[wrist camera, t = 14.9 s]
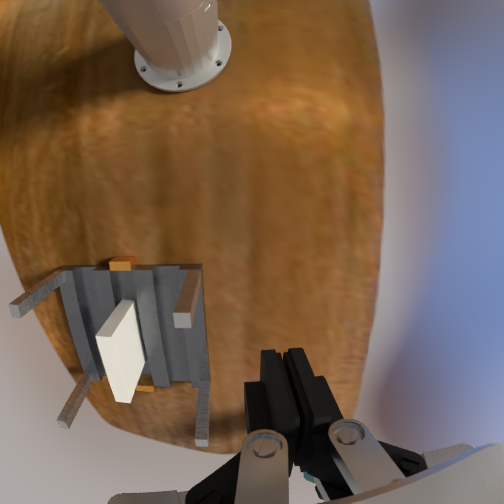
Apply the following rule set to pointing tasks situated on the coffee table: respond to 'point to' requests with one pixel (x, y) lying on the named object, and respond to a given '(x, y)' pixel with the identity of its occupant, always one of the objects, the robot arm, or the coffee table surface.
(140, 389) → the rack
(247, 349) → the coffee table surface
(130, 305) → the block
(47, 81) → the coffee table surface
